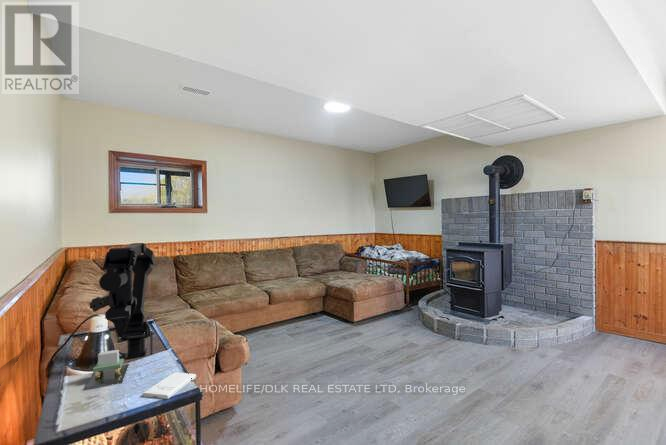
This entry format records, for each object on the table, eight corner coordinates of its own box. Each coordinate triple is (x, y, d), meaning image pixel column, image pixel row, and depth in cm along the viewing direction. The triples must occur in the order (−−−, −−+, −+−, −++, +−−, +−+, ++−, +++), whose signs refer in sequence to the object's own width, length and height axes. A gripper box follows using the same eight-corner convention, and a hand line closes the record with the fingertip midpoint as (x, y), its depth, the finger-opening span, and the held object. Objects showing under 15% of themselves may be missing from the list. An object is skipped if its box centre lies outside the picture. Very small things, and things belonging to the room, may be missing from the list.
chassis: (96, 371, 105) (96, 361, 105) (128, 366, 109) (128, 356, 109) (85, 389, 93) (85, 378, 93) (122, 382, 97) (122, 371, 97)
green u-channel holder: (97, 365, 102) (97, 351, 102) (123, 361, 105) (123, 347, 105) (93, 372, 97) (92, 357, 97) (120, 367, 100) (120, 353, 100)
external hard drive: (196, 379, 99) (167, 400, 87) (173, 377, 101) (142, 398, 89) (196, 373, 99) (167, 394, 87) (173, 372, 101) (142, 392, 89)
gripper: (99, 283, 110) (99, 328, 110) (83, 293, 93) (84, 346, 93) (136, 280, 115) (137, 323, 115) (128, 289, 98) (129, 340, 98)
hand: (122, 332), depth 105 cm, fingers open, 9 cm apart
